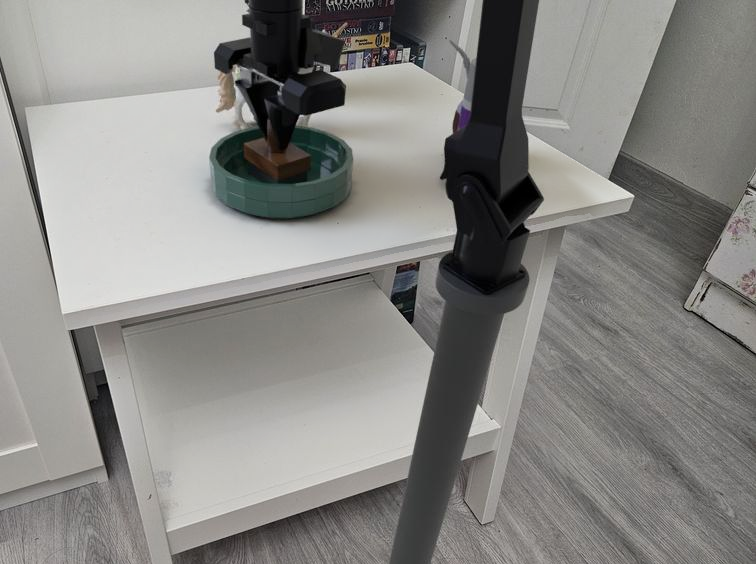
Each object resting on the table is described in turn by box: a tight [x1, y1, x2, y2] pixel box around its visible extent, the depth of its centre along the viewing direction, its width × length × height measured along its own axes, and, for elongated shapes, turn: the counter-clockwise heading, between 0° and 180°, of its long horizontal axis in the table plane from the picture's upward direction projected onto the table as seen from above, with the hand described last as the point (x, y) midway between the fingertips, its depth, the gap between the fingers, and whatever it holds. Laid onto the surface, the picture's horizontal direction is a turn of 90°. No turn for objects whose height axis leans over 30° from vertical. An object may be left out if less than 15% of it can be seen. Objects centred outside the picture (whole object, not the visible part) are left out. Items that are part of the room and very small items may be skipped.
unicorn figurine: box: [215, 22, 348, 130], centre depth 91 cm, size 7×20×13 cm, turn 99°
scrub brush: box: [244, 116, 311, 184], centre depth 79 cm, size 8×5×8 cm, turn 36°
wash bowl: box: [208, 125, 354, 219], centre depth 80 cm, size 18×18×4 cm
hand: (276, 145), depth 79 cm, fingers closed on scrub brush, 2 cm apart
